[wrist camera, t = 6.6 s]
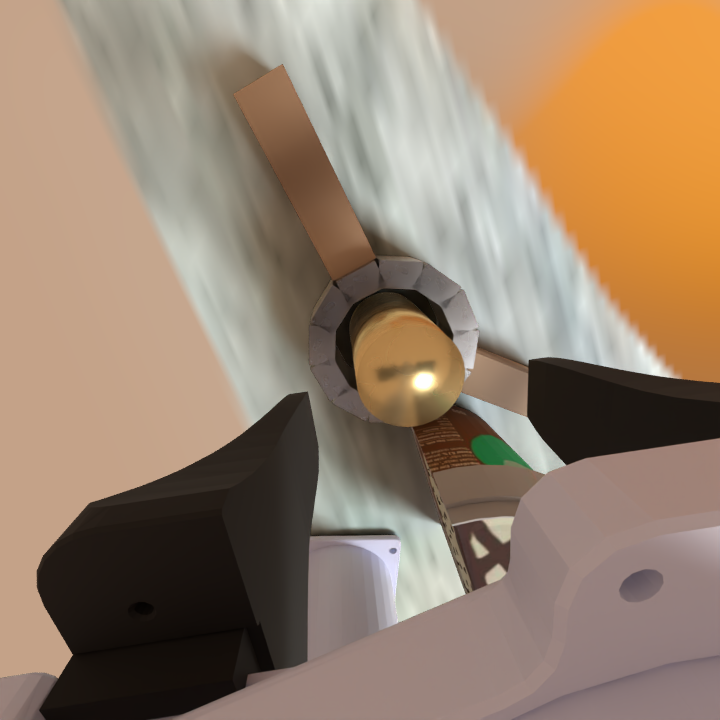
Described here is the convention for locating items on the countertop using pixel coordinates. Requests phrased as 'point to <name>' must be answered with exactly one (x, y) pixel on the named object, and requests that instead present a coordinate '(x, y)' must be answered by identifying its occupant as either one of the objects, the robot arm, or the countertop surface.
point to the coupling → (360, 258)
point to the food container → (473, 491)
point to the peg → (403, 361)
